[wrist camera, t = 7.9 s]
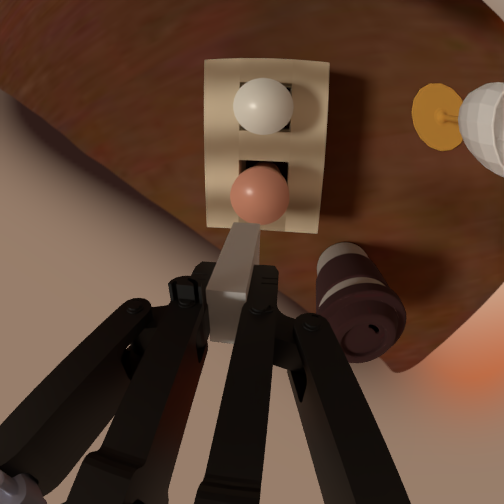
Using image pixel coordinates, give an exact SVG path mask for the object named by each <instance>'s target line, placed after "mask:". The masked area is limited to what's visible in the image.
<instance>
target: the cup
mask: <svg viewBox="0 0 504 504" xmlns="http://www.w3.org/2000/svg"><path fill="white" fill-rule="evenodd" d="M411 113H412V118H413V124H414V127H415V129H416V131H417V133H418V135H419V137H420V139H422V140H423V141H424V142H425V143H426V144H427V145H428V146H429V147H431V148H434V149H436V150H439V151H446V150H452V149H454V148H455V147H457V146H458V145H459V144H461V142H462V140H464V143H465V144H466V146H467V148H468V149H469V151H470V152H471V153H472V154H473V155H474V156H475V157H476V159H477V160H478V161H479V162H480V163H481V164H482V165H483V166H484V167H486V168H487V169H489V170H491V171H492V172H494V173H495V174H498V175H500V176H502V177H504V83H501V82H496V83H488V84H485V85H483V86H481V87H479V88H477V89H475V90H474V91H472V92H471V93H469V94H468V95H467V97H466V98H465V99H464V101H462V99H461V97H460V96H459V95H458V94H457V93H456V92H455V91H454V90H453V89H452V88H450V87H448V86H446V85H443V84H441V83H439V84H428V85H427V86H425V87H423V88H421V89H420V90H419V92H418V93H417V95H416V96H415V98H414V100H413V106H412V112H411Z"/></svg>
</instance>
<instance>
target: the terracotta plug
mask: <svg viewBox="0 0 504 504" xmlns="http://www.w3.org/2000/svg"><path fill="white" fill-rule="evenodd" d="M230 200H231V204H232V207H233V209H234V211H235V212H236V214H237V215H238V216H239V217H240V218H242V219H243V220H244V221H246V222H248V223H256V224H260V225H266V224H270V223H273V222H275V221H276V220H278V219H279V218H280V217H281V216H282V215H283V214H284V213H285V211H286V210H287V207H288V204H289V188H288V184H287V182H286V180H285V179H284V177H283V176H282V175H281V172H280V170H279V168H278V167H277V166H276V165H275V164H274V163H272V162H269V161H261V162H258V163H257V164H255V165H254V166H253V167H250V168H248V169H246V170H244V171H243V172H242V173H241V174H240V175H239V176H238V177H237V178H236V180H235V181H234V183H233V185H232V188H231V192H230Z"/></svg>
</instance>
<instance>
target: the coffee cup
mask: <svg viewBox="0 0 504 504" xmlns="http://www.w3.org/2000/svg"><path fill="white" fill-rule="evenodd" d="M316 314H318V315H321V316H323V317H324V318H326V319H327V321H328V322H329V323H330V325H331V328H332V330H333V332H334V334H335V336H336V338H337V340H338V342H339V344H340V346H341V348H342V350H343V352H344V354H345V356H346V358H347V360H348V362H349V363H363V362H367V361H371V360H373V359H375V358H377V357H379V356H381V355H382V354H384V353H385V352H386V351H387V350H388V349H389V348H390V347H391V346H393V345H394V344H395V343H396V341H397V340H398V339H399V338H400V336H401V334H402V332H403V330H404V328H405V324H406V311H405V308H404V306H403V304H402V302H401V300H400V298H399V297H398V295H397V294H396V293H395V292H394V291H393V290H391V289H390V288H389V286H388V284H387V283H386V281H385V280H384V278H383V276H382V275H381V273H380V272H379V270H378V269H377V267H376V265H375V264H374V263H373V262H372V261H371V260H370V259H369V257H368V256H367V254H366V253H365V251H364V250H363V249H362V248H361V247H359V246H357V245H355V244H353V243H347V242H344V243H337V244H335V245H332V246H330V247H329V248H327V249H326V250H325V251H324V252H323V253H322V255H321V256H320V258H319V261H318V265H317V279H316Z"/></svg>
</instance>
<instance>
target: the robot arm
mask: <svg viewBox="0 0 504 504" xmlns="http://www.w3.org/2000/svg"><path fill="white" fill-rule="evenodd" d="M259 245H260V224H256V223H238V222H234V223H233V225H232V227H231V230H230V232H229V234H228V237H227V239H226V241H225V244H224V246H223V249H222V251H221V253H220V256H219V258H218V261H217V263H216V262H201V263H200V264H198V265H197V266H196V267H195V269H194V271H193V273H192V275H191V276H181V277H177V278H175V279H173V280H171V281H170V282H169V283H168V286H169V292H170V298H171V301H170V303H169V305H166V306H159V307H151V304H150V302H149V301H148V300H146V299H142V298H133V299H131V300H128V301H126V302H125V303H123V304H122V305H121V306H120V307H119V308H118V309H117V310H115V311H114V312H113V313H112V314H111V315H110V316H109V317H108V318H107V319H106V320H105V321H104V322H103V323H101V324H100V325H99V326H98V327H97V328H96V329H95V330H94V331H93V332H92V333H91V334H90V335H89V336H88V337H86V338H85V339H84V340H83V342H81V343H80V344H79V345H78V346H77V347H76V348H75V349H74V350H73V351H72V352H71V353H70V354H69V355H68V356H67V357H66V358H65V359H64V360H63V361H62V362H61V363H60V364H59V365H58V366H57V367H56V368H55V369H54V370H53V371H52V372H51V373H50V374H49V375H48V376H47V377H46V378H45V379H44V380H43V381H42V382H41V383H40V384H39V385H38V386H37V387H36V388H35V389H34V390H33V391H32V392H31V393H30V394H29V395H28V396H27V397H26V398H25V399H24V400H23V401H22V402H21V404H20V405H19V406H18V407H17V408H16V409H15V410H14V411H13V412H12V413H11V414H10V415H9V416H8V417H7V419H6V420H5V421H4V422H3V423H2V424H1V425H0V504H47V502H46V500H45V499H44V498H43V496H45V495H47V494H48V493H50V492H51V491H52V490H53V489H55V488H56V487H57V486H58V485H59V484H60V483H61V482H62V481H63V480H64V479H65V477H66V476H67V475H68V474H69V472H70V471H71V470H72V469H73V467H74V466H75V465H76V463H77V462H78V461H79V460H80V458H81V457H82V456H83V455H84V453H85V452H86V451H87V449H88V448H89V447H90V446H91V444H92V443H93V442H94V441H95V439H96V438H97V437H98V436H99V434H100V433H101V432H102V431H103V429H104V428H105V427H106V425H107V424H108V423H109V422H110V420H111V419H112V418H113V416H114V415H115V416H114V418H113V421H112V423H111V425H110V427H109V430H108V432H107V434H106V437H105V439H104V441H103V444H102V446H101V447H100V449H99V450H98V451H95V452H91V453H89V454H88V455H86V457H85V458H84V460H83V462H82V464H81V466H80V469H79V471H78V474H77V476H76V478H75V481H74V483H73V486H72V488H71V491H70V494H69V496H68V498H67V501H66V502H64V503H62V504H168V501H169V499H168V488H169V484H170V481H171V477H172V473H173V470H174V466H175V462H176V459H177V455H178V452H179V448H180V444H181V441H182V438H183V434H184V430H185V427H186V423H187V420H188V416H189V413H190V409H191V406H192V402H193V399H194V396H195V392H196V389H197V385H198V382H199V378H200V375H201V371H202V368H203V365H204V361H205V358H206V355H207V351H208V343H207V340H208V337H209V333H210V341H214V342H222V343H232V344H234V346H233V351H232V355H231V360H230V364H229V369H228V373H227V379H226V382H225V387H224V391H223V396H222V401H221V405H220V410H219V415H218V419H217V423H216V428H215V433H214V437H213V441H212V446H211V450H210V455H209V460H208V464H207V468H206V473H205V477H204V479H203V481H202V482H201V484H200V486H199V488H198V490H197V494H196V498H195V502H194V504H259V501H260V491H261V480H262V471H263V463H264V454H265V453H264V452H265V444H266V434H267V424H268V413H269V401H270V391H271V379H272V367H273V365H276V366H279V367H281V368H284V369H287V373H288V377H289V380H290V384H291V387H292V391H293V394H294V398H295V401H296V405H297V408H298V411H299V415H300V419H301V422H302V426H303V429H304V433H305V436H306V440H307V443H308V447H309V450H310V454H311V457H312V461H313V464H314V468H315V472H316V475H317V479H318V482H319V486H320V489H321V493H322V496H323V500H324V503H325V504H411V503H410V500H409V498H408V496H407V493H406V490H405V488H404V486H403V483H402V481H401V478H400V476H399V473H398V471H397V469H396V466H395V464H394V462H393V459H392V457H391V455H390V452H389V450H388V448H387V445H386V443H385V441H384V439H383V436H382V434H381V432H380V429H379V428H378V425H377V423H376V421H375V418H374V416H373V414H372V412H371V409H370V407H369V405H368V403H367V401H366V399H365V397H364V394H363V392H362V390H361V388H360V386H359V384H358V381H357V379H356V377H355V375H354V373H353V371H352V369H351V367H350V365H349V362H348V360H347V358H346V356H345V354H344V352H343V350H342V348H341V346H340V344H339V342H338V340H337V338H336V336H335V334H334V332H333V330H332V328H331V325H330V323H329V322H328V321H327V319H326V318H324V317H323V316H321V315H318V314H315V313H306V314H301V315H300V316H298V317H297V318H296V319H294V318H290V317H287V316H285V315H284V314H282V313H281V312H280V311H279V309H278V308H277V293H278V275H279V272H278V270H277V269H276V267H275V266H269V265H259ZM128 345H130V346H129V347H128V348H127V346H128ZM126 348H127V349H126Z"/></svg>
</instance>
